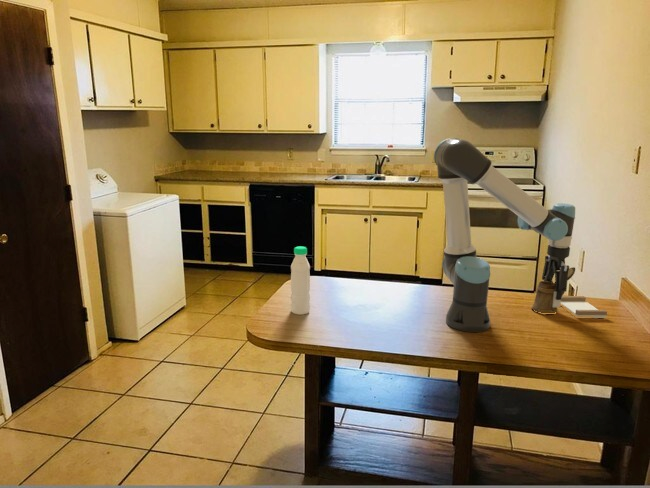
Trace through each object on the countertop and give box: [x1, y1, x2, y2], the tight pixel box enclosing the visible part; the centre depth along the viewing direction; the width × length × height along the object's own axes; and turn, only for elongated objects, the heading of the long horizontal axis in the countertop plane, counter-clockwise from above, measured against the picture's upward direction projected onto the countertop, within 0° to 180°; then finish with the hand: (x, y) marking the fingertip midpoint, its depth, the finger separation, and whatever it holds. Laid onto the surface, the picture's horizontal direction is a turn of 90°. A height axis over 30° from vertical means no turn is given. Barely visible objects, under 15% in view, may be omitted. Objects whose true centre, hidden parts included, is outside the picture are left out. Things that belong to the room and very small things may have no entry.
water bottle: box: [290, 245, 311, 315], centre depth 181 cm, size 7×7×25 cm
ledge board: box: [560, 295, 608, 319], centre depth 190 cm, size 11×16×3 cm
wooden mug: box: [531, 266, 576, 313], centre depth 187 cm, size 9×14×18 cm, turn 84°
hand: (551, 303), depth 189 cm, fingers closed on wooden mug, 7 cm apart
